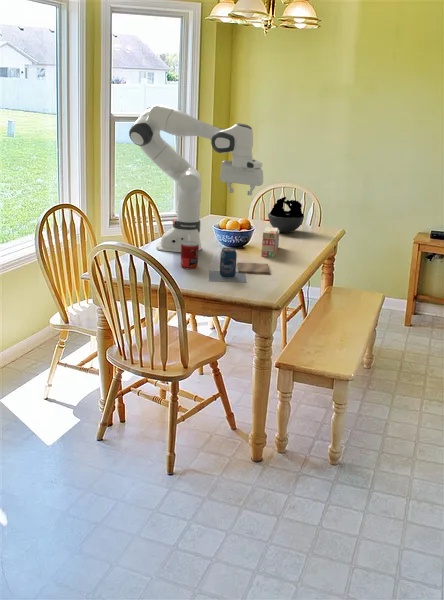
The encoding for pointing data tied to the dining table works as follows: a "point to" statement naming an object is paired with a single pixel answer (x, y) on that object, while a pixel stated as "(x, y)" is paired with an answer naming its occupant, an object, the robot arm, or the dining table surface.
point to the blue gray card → (237, 278)
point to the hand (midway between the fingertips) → (240, 193)
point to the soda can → (228, 262)
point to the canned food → (189, 254)
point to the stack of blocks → (270, 242)
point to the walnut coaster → (253, 268)
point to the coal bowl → (286, 215)
